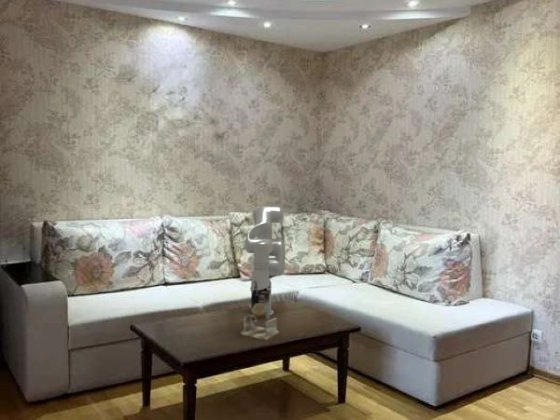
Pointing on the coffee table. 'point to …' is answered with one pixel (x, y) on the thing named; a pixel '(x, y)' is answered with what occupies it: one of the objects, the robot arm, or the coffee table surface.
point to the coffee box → (261, 308)
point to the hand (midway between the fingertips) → (260, 300)
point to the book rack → (260, 329)
